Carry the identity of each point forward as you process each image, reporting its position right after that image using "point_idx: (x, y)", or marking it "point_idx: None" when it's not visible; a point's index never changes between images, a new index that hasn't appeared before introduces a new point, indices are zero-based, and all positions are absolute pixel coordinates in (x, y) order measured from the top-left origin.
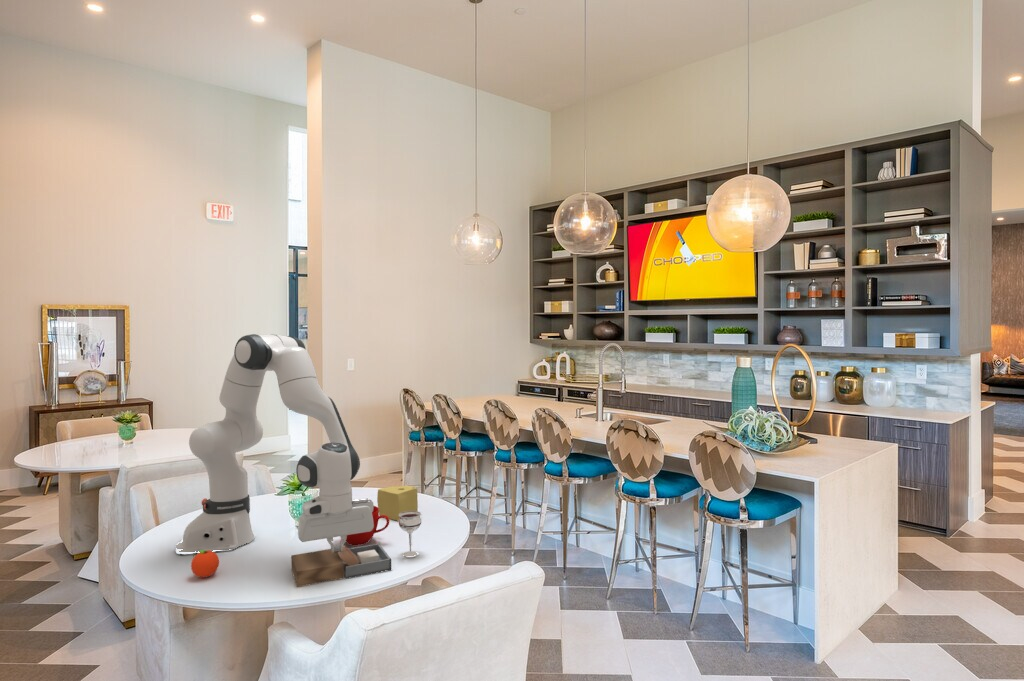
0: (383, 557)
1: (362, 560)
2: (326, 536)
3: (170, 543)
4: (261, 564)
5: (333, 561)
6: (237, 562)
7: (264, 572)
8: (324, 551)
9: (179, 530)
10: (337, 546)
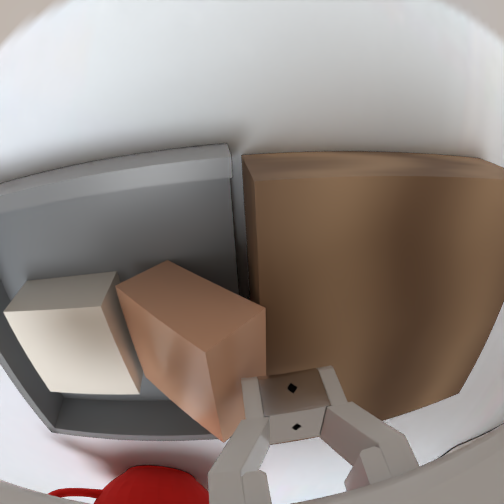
0: (8, 323)
1: (97, 296)
2: (458, 469)
3: None
4: (462, 393)
5: (330, 266)
6: (483, 403)
7: (487, 343)
8: None
9: None
10: (297, 410)
